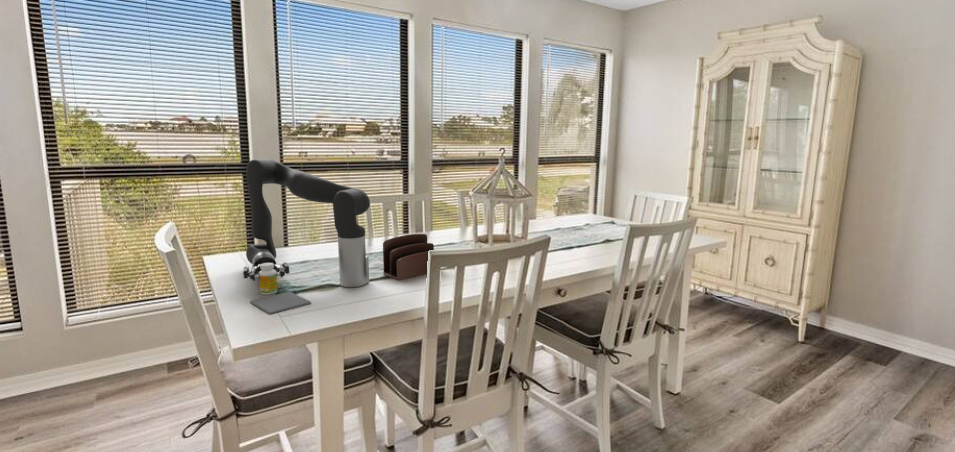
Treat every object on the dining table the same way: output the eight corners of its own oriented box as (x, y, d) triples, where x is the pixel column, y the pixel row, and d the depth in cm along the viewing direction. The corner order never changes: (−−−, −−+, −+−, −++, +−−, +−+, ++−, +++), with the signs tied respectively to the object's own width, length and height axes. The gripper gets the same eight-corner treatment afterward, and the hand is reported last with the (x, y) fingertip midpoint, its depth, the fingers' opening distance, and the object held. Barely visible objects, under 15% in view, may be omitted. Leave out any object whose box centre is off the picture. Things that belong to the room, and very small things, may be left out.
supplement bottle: (271, 295, 163) (269, 266, 162) (256, 294, 164) (254, 265, 163) (281, 290, 169) (279, 262, 167) (266, 289, 170) (264, 261, 168)
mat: (289, 293, 166) (289, 291, 166) (310, 303, 157) (310, 301, 156) (249, 302, 157) (249, 300, 157) (270, 314, 147) (269, 312, 147)
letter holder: (383, 275, 188) (382, 238, 185) (426, 265, 201) (426, 231, 198) (397, 281, 181) (396, 243, 178) (441, 271, 193) (441, 235, 191)
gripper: (241, 255, 175) (243, 267, 160) (285, 251, 181) (290, 262, 167) (243, 276, 176) (245, 289, 162) (286, 271, 182) (291, 284, 168)
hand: (268, 276), depth 164 cm, fingers open, 8 cm apart
